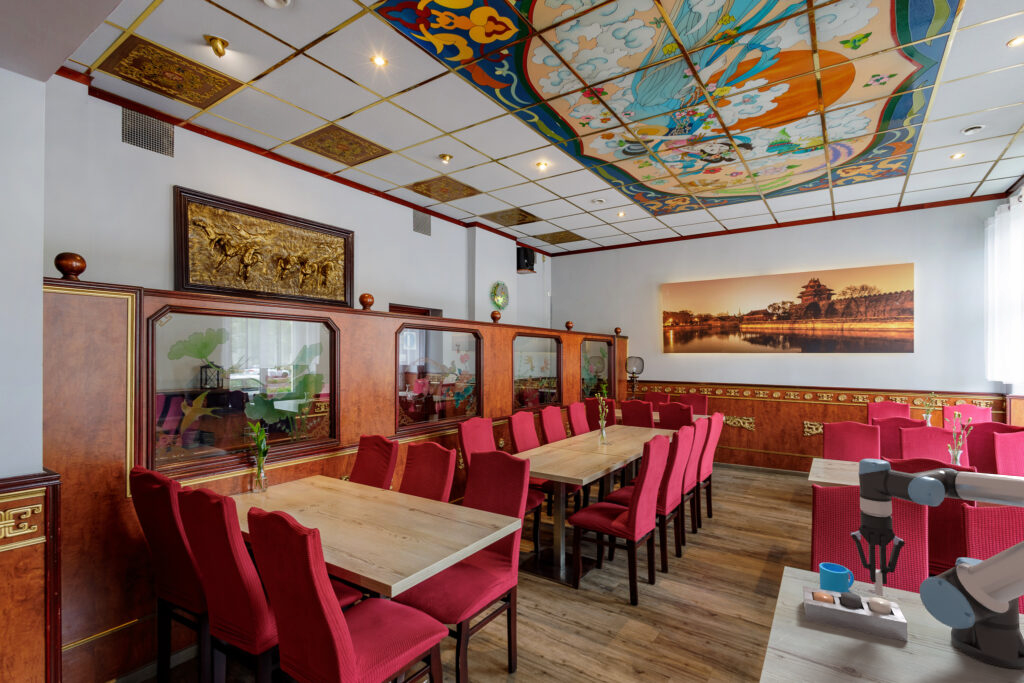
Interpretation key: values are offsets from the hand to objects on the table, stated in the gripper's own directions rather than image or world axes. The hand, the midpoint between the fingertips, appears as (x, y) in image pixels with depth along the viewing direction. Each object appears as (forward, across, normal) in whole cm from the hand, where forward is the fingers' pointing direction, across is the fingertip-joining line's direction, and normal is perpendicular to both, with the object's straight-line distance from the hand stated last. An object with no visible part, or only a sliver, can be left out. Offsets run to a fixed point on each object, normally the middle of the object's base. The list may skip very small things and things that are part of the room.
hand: (878, 593), depth 141 cm
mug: (+10, +8, -19) cm, 23 cm away
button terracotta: (+8, +14, 0) cm, 16 cm away
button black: (+6, +7, 0) cm, 9 cm away
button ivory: (+6, 0, 0) cm, 6 cm away
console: (+9, +7, 0) cm, 11 cm away
